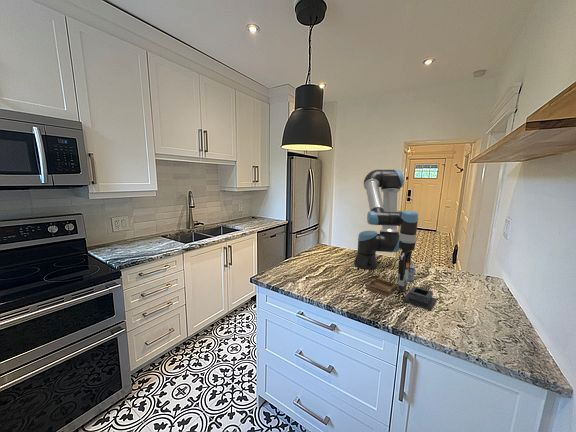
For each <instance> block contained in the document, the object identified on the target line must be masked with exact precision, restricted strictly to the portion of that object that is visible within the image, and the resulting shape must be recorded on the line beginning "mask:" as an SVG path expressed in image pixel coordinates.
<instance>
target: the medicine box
mask: <svg viewBox="0 0 576 432" xmlns="http://www.w3.org/2000/svg"><path fill="white" fill-rule="evenodd" d="M415 267H416V266H415V265H412V264H410V269H409V270H410V272H409V271H408V279H407V282H409V283H413V282H414V276H415V269H416V268H415ZM397 277H398V278H397V280H399V275H398V276H397Z"/></svg>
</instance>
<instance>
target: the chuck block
mask: <svg viewBox="0 0 576 432" xmlns="http://www.w3.org/2000/svg"><path fill="white" fill-rule="evenodd" d="M433 294H434V291H432V290H429V289H427V288H422V287H418V286H415V285H413V286H412V288H411V289H410V290H409V291H408V293H407V294H406V295H405V296H404V298H403V299H402V302H404V303H405V304H409V305H412V306H415V307H418V308H421V309H424V310H427V311H430V312H431V311H432V310H433V308H434V306H435V305H436V303H437V301H438V298H436V297H433V296H434V295H433Z"/></svg>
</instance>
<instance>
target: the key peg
mask: <svg viewBox="0 0 576 432" xmlns="http://www.w3.org/2000/svg"><path fill="white" fill-rule="evenodd" d="M408 269H409V263H408V262H407V263H406V269H405V283H404V286H400V285H398V284H397V290H398V291H400V292H406V291H407V288H408V287H407V286H408V281H407V279H408Z"/></svg>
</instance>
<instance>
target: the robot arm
mask: <svg viewBox="0 0 576 432" xmlns="http://www.w3.org/2000/svg"><path fill="white" fill-rule="evenodd" d="M404 180H405V178H404V173H403V172H402V171H401V170H400V169H373V170H371V171H370V172H368V173H367V174H366V176H365V177H364V180H363V187H364V190H365V191H366V195H367V201H368V208H369V211H368V212H367V214H366V215H367V216H366V223H367V224H368V225H372V226H382V227H381V229H380V230H379V233H378V232H377V231H376V230H364V231H360V232H359V233H358V239H357V251H356V252H357V253H356V255H355V258H354V260H353V265H354V267H356V268H358V269H361V270H362V269H363V270H368V271H369V270H375V269H377V268H378V266H379V265H378V264H379V263H378V260H377V257H376V254H377V253H376V252H380V253H381V252H383V253H385V252H386V253H397V252H399V251H400V250H401V251H400V255H399V256H398V259H399V260H398V272H397V274H398V276H399V279H398V284H397V286H398V285H400V286H404V283H405V269H406V263H407V262H408V263H409V269H410V265H411V260H412V255H413V251H414V250H415V247H416V240H417V229H418V222H419V213H418V211H412V210H403V211H402V210H398V193H399V192H400V191H401V189H402V188H403V187H404V182H405V181H404ZM381 192H382V193H383V194H382V195H383V200H382V196H381ZM397 227H400V228H399V230H398V229H397ZM409 269H408V271H409V272H410V270H409Z"/></svg>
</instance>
